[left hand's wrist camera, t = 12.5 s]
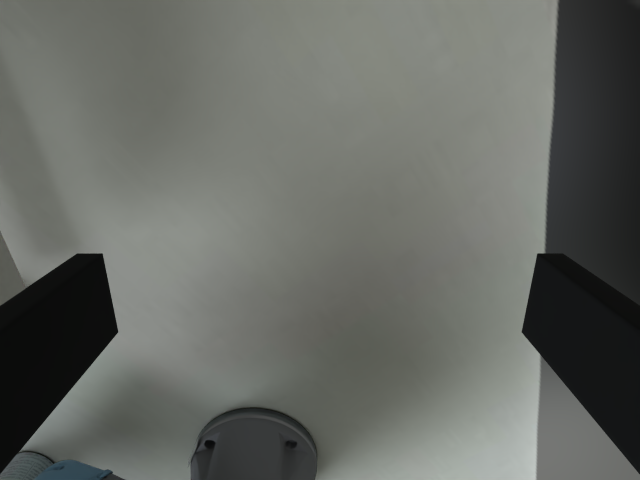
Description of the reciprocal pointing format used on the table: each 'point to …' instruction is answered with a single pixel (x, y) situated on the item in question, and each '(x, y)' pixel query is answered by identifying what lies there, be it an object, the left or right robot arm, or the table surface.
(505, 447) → the table surface
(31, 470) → the spray paint can
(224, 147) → the table surface
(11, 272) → the bar
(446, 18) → the table surface
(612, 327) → the left robot arm
